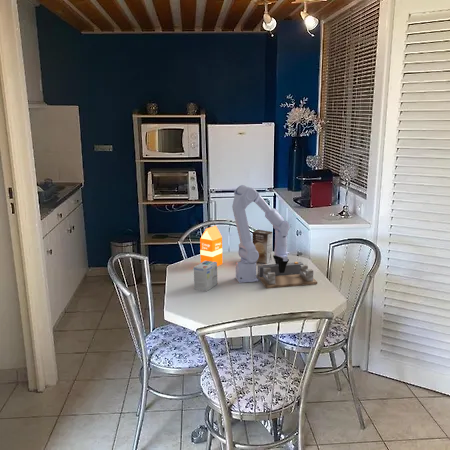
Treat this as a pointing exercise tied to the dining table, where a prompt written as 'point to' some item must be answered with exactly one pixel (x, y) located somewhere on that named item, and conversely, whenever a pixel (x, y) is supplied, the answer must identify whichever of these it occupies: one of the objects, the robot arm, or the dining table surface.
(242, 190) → the robot arm
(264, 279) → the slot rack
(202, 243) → the orange juice
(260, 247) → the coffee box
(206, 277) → the light bulb box
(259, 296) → the dining table surface
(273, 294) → the dining table surface
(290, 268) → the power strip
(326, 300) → the dining table surface
